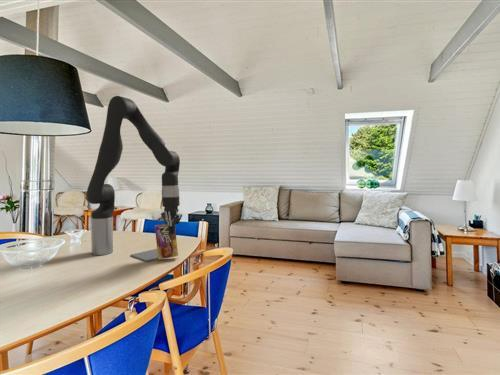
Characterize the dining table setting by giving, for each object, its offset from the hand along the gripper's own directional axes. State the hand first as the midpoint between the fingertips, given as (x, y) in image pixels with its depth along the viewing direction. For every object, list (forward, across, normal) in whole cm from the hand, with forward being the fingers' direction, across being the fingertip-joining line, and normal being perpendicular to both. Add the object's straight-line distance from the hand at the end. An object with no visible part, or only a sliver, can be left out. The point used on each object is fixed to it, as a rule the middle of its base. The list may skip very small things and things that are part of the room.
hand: (172, 234), depth 128 cm
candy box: (+11, -2, -1) cm, 11 cm away
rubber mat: (+11, -13, -1) cm, 17 cm away
